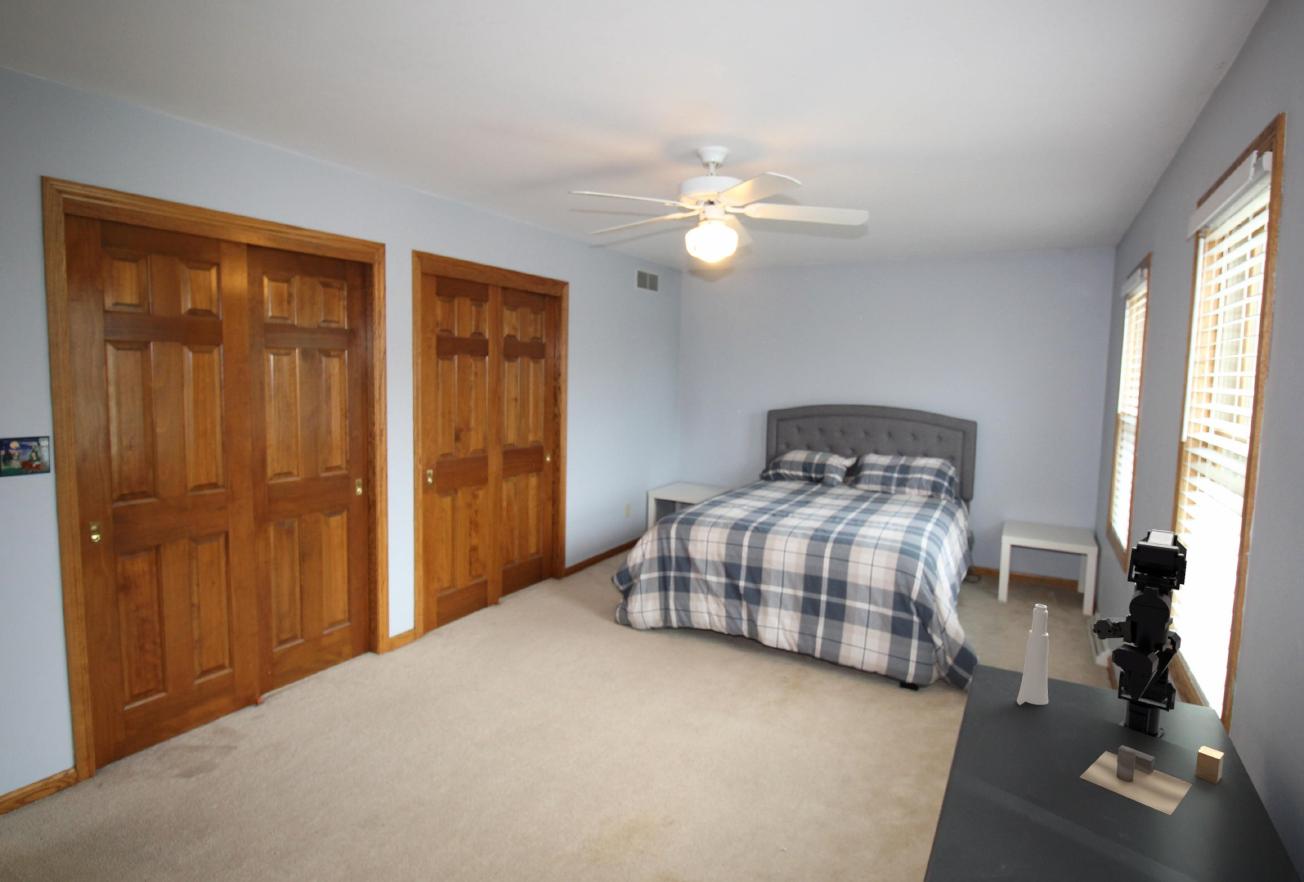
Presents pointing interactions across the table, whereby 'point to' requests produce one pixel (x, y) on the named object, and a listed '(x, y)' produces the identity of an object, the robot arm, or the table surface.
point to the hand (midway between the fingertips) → (1142, 692)
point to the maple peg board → (1137, 779)
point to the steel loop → (1209, 764)
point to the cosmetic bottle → (1036, 661)
